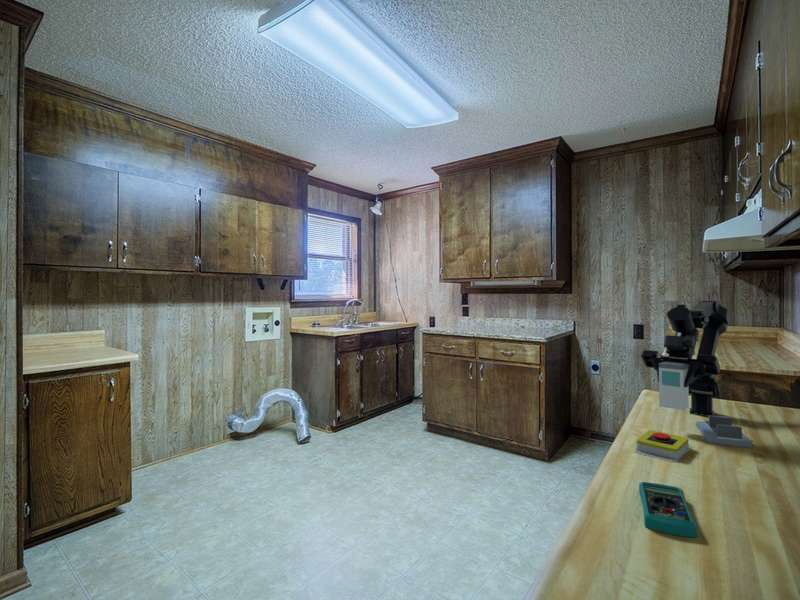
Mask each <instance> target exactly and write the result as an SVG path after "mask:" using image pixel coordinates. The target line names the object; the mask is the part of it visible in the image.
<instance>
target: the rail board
mask: <svg viewBox="0 0 800 600" xmlns="http://www.w3.org/2000/svg"><path fill="white" fill-rule="evenodd" d="M695 425H696V426H697V427H696V426H695V427H696V428H697V429H698V431H699V430H700V431H699V432H700V434H701V435H702V436H703V438H705V440H706V441H707V443H708V444H717V445H724V446H731V447H733V446H734V447H740V446H742V448H749V447H750V449H753V441H751V439H750V438H749V437H748V436H746V434H745V433H743V432H742V441H739V440H730V439H720V438H717V436H716V435H715V434H714V433H713V432H712V430H711V429H710V428H709V427H708V426H707V424H706V423H705V422H704V421H700V420H699V421H698V420H696V421H695ZM732 425H733V426H736V425H735V424H732Z"/></svg>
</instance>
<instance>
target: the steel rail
mask: <svg viewBox="0 0 800 600" xmlns="http://www.w3.org/2000/svg"><path fill="white" fill-rule="evenodd" d="M703 422H705V423H706V424H707V426H708V427H709V420H704V421H703ZM709 428H710V429H711V430H712V432H713V433H714V434H715V435H716V436H717V428H716V427H709ZM717 438H720V439H730V440H739V441H742V439H735V438H726V437H718V436H717Z"/></svg>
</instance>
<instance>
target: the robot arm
mask: <svg viewBox="0 0 800 600" xmlns="http://www.w3.org/2000/svg"><path fill="white" fill-rule="evenodd" d="M666 315H667V319H668V322H669V325H670V327H671V330H672V331H673V332H675V334H674V335H670V334H669V335H665V336H664V341H663V347H664V348H666V349H665V352H666V354H668V355H663V354H661V353H660V352H659V351H658V350H652V349H644V350H643V351H642V352H641V355H640V356H641V359H642V361H643V364H644V365H645V367H647V368H652V369H654V370H655V371H656V374H657V381H658V383H659V363H662V362H673V363H683V364H688V373H687V376H686V379H685V382H684V387H688V386H689V394H690V407H689V412H690V413H689V412H688V413H689V414H691V413H697V414H696V415H699V414H702V415H701V416H706V415H708V416H707V417H709V415H713V416H715V410H714V408H713V407H714V406H713V404H714V403H713V400H714V398H720V397H721V390H720V386H719V382H718V380H717V379H716V376H718V375H719V374H720V371H721V365H720V363H719V359H718V357H717V356H716V352H717V346H718V343H719V340H720V339H719V338H720V336H721V335H723V334H724V333H726V332H727V330H728V327H729V325H730V324H731V321H732V320H731V318H732V317H731V314H730V311H729V309H727V308H725V307H724V306H722V305H721V304H720V303H719V301H717V300H700V301H699V302H698V304H696V305H695V306H693V307H692V308H689V309H688V307H687V305H686V304H677V306H675V307H673V308H671V309H669V310H668V311H667V313H666ZM698 329H699V330H702V334H701V338H700V342H699V335H700V332H699V330H698ZM698 342H699V346H698V351H697V355H696V358H693V356H694V355H695V354H696V347H697V343H698Z"/></svg>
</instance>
